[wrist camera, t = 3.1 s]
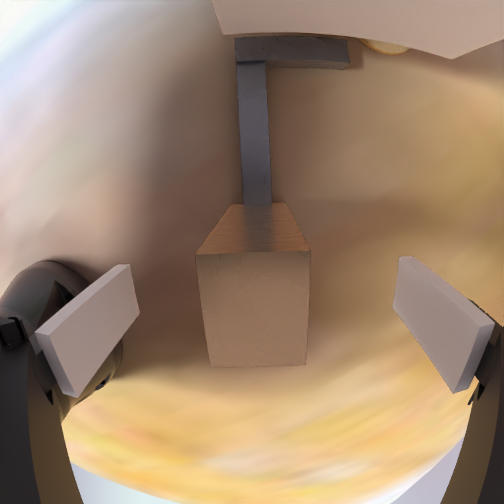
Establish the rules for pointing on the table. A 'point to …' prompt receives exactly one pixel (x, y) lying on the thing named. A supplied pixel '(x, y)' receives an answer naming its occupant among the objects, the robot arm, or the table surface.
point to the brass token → (384, 47)
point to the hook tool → (260, 228)
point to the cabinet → (374, 21)
